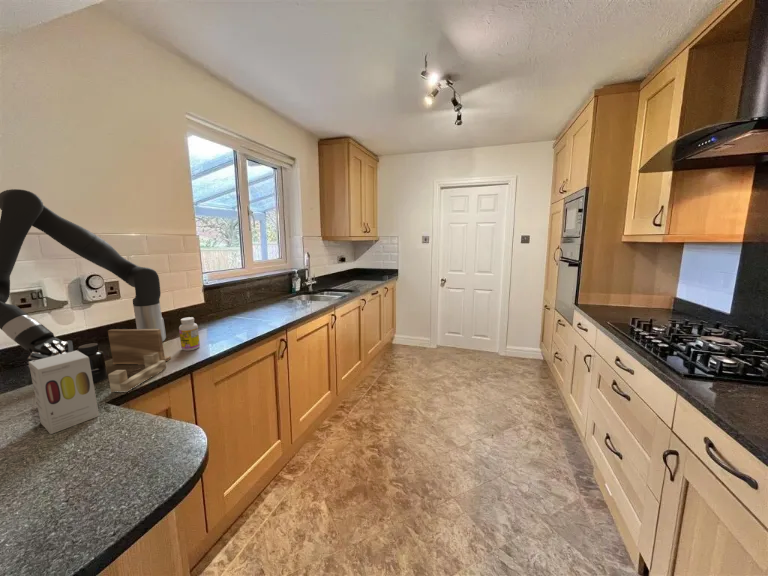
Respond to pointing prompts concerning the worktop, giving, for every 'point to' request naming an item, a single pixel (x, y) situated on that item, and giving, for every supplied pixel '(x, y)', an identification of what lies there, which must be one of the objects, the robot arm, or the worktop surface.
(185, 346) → the supplement bottle
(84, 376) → the supplement box
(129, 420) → the worktop surface
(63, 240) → the robot arm
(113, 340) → the oak screen
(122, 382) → the stop bay
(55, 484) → the worktop surface
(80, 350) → the supplement bottle
